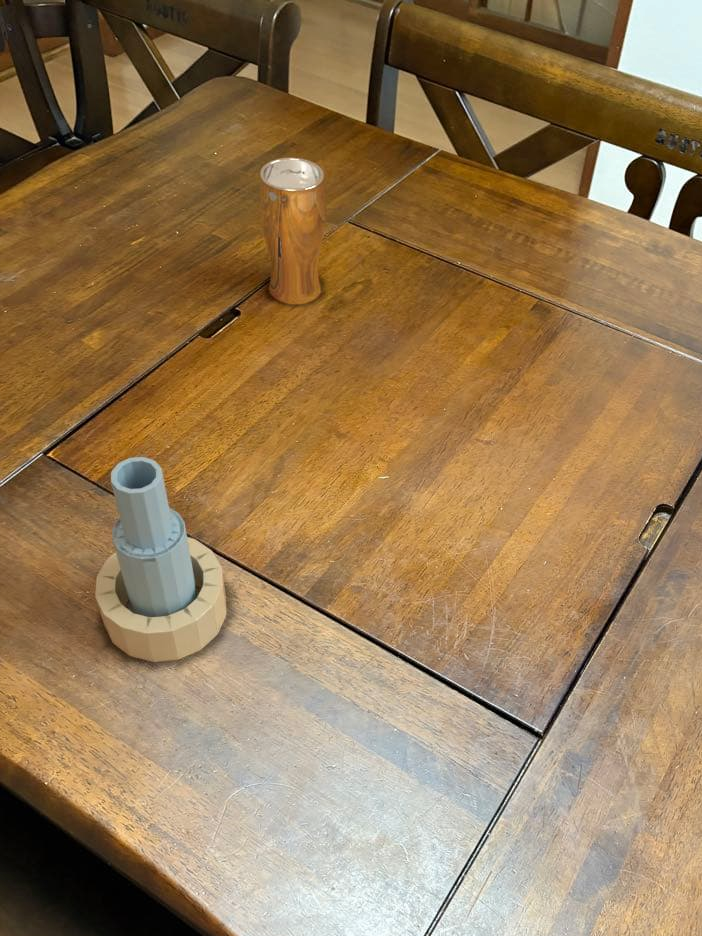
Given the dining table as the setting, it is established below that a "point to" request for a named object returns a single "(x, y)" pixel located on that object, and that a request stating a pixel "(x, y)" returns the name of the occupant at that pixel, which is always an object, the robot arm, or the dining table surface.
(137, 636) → the ring
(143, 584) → the bottle
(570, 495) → the dining table surface
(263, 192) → the beer glass
